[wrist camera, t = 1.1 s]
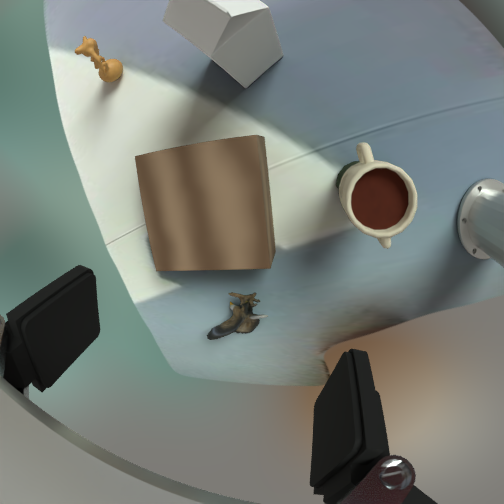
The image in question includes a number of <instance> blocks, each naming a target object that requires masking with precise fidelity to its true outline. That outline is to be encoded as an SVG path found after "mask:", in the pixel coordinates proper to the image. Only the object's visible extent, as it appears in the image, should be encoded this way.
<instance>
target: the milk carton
mask: <svg viewBox="0 0 504 504" xmlns="http://www.w3.org/2000/svg"><path fill="white" fill-rule="evenodd" d="M163 22H164V23H166V24H167V25H168V26H170V27H171V28H172V29H174V30H175V31H177V32H178V33H179V34H181V35H182V36H183V37H184V38H186V39H187V40H188V41H190V42H191V43H192V44H193V45H195V46H196V47H197V48H198V49H200V50H201V51H202V52H203V53H205V54H206V55H207V56H208V57H210V58H211V59H212V60H213V61H214V62H215V63H217V64H218V65H219V66H220V67H221V68H223V69H224V70H225V71H226V72H227V73H228V74H230V75H231V76H232V77H233V78H234V79H235V80H236V81H237V82H239V83H240V84H241V85H242V86H243V87H244V88H247V87H248V86H249V85H250V84H252V83H253V82H254V81H255V80H256V79H257V78H258V77H259V76H260V75H262V74H263V73H264V72H265V71H266V70H267V69H268V68H270V67H271V66H272V65H273V64H274V63H275V62H277V61H278V60H279V59H280V58H281V57H283V56H284V55H283V51H282V48H281V44H280V41H279V38H278V34H277V31H276V28H275V24H274V21H273V18H272V15H271V12H270V9H269V7H268V6H267V5H265V4H264V3H262V2H261V1H260V0H169V3H168V6H167V9H166V12H165V15H164V18H163Z"/></svg>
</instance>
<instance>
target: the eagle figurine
mask: <svg viewBox="0 0 504 504" xmlns="http://www.w3.org/2000/svg"><path fill="white" fill-rule="evenodd" d="M229 295H231V296H234V297H238V298H239V299H240V301H241V304H240V305H242V307H240V306H236V305H234V304H233V303H232V302H230V308H231V310H232V311H233V316H232V317H231V318H230V319H229V320H227V321H225V322H223V323H222V324H221V325H218V326H216V327H214V328H212V329H211V331H210V332H209V333H208V335H207V338H208V339H210V340H213V339H218V338H221V337H224V336H227V335H229V334H231V333H233V332H236V333H240V332H241V333H250V332H252V331H253V330H254V329H255V328H256V326H257V325H258V324H259V318H264V317H268V315H257V314H253V312H252V307H254V306H256V305H257V304H254V303H253V301H255V302H260V300H256V299H255V298H254V297H255V295H256V293H254V294H250V295H241V294H237V293H233V292H232V293H229Z"/></svg>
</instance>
